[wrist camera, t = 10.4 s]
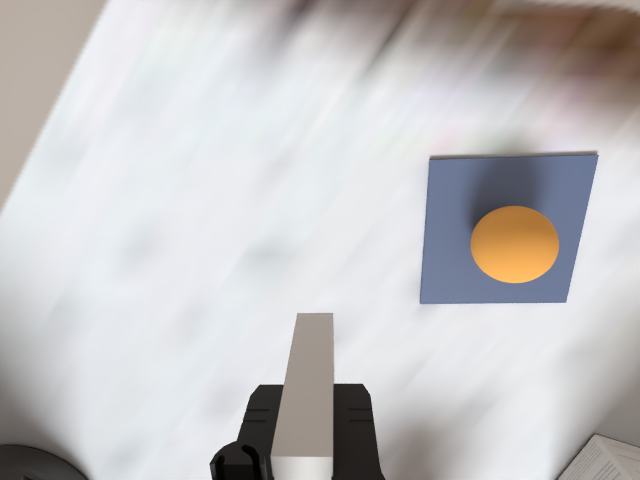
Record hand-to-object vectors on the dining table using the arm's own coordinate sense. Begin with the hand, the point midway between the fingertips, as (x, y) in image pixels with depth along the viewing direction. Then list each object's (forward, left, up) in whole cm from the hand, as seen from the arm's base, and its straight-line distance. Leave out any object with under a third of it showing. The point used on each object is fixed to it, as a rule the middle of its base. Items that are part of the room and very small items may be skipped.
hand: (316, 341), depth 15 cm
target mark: (+14, 0, -14) cm, 20 cm away
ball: (+13, 0, -11) cm, 18 cm away
